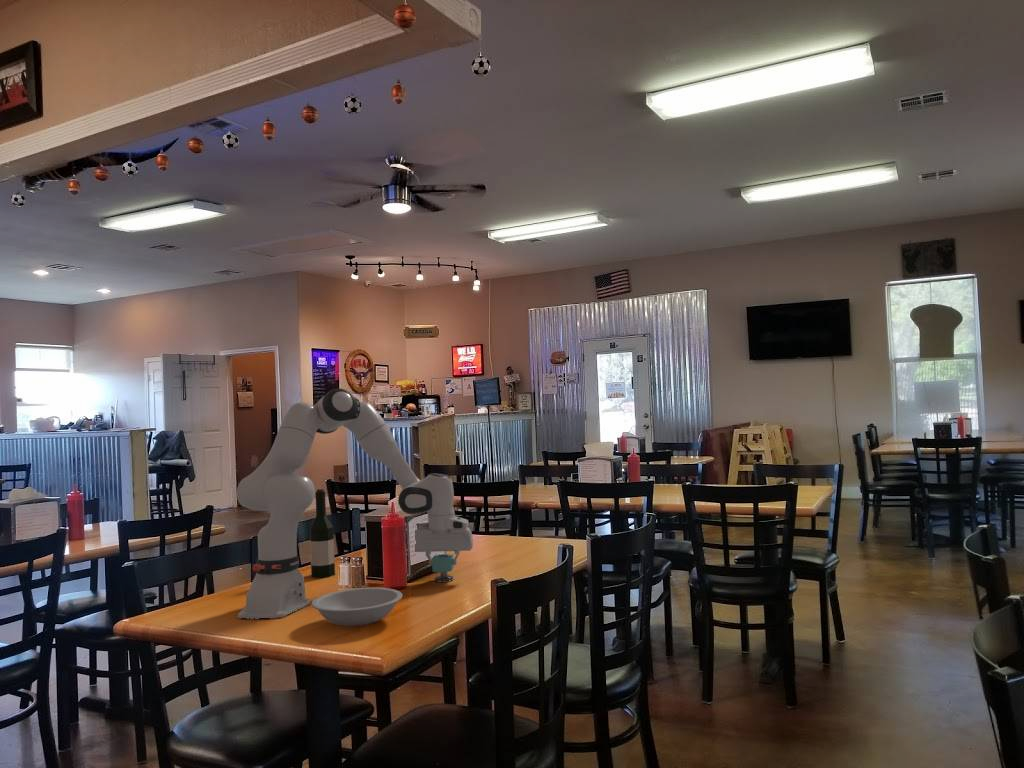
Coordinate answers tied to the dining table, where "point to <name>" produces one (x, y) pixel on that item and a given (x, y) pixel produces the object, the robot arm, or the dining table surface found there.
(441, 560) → the teal block
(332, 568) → the wine bottle
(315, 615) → the dining table surface
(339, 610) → the soup bowl
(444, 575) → the post stand
